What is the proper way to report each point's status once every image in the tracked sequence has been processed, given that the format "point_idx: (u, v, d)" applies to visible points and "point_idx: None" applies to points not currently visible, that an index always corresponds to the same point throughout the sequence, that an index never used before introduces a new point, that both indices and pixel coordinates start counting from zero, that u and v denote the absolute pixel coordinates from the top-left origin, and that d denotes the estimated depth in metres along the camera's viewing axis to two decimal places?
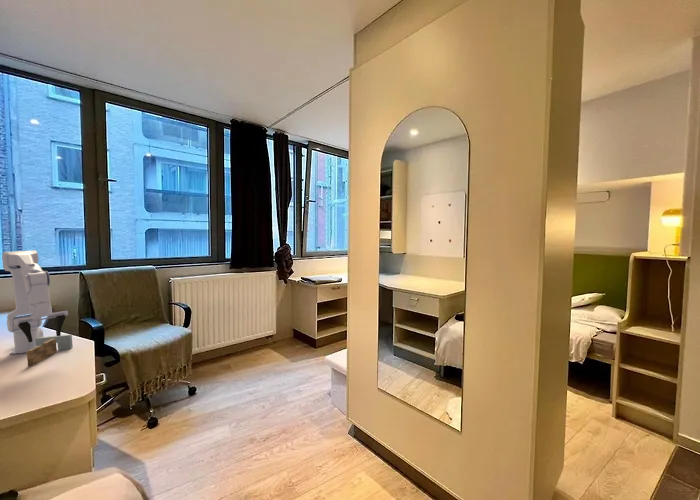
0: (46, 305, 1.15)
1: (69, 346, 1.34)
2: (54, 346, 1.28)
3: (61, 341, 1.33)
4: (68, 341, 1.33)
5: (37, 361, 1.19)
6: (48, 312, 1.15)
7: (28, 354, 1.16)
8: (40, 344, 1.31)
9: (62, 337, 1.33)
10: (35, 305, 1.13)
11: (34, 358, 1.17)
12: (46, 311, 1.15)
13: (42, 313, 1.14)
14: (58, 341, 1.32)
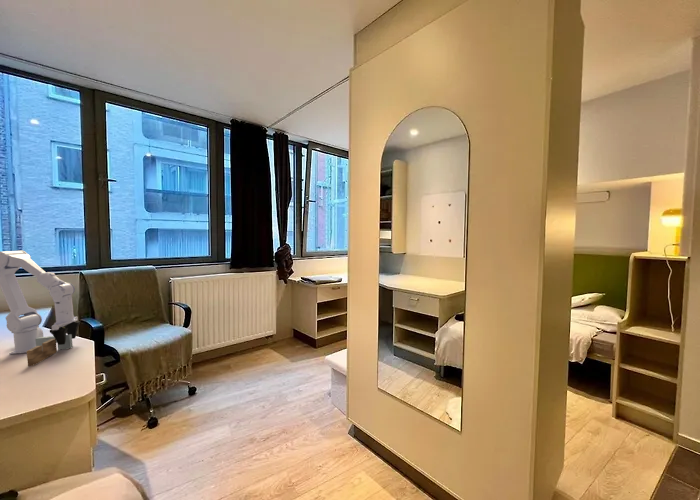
0: None
1: (69, 346, 1.34)
2: (54, 346, 1.28)
3: None
4: (68, 341, 1.33)
5: (37, 361, 1.19)
6: (73, 318, 1.35)
7: (28, 354, 1.16)
8: (40, 344, 1.31)
9: None
10: (68, 312, 1.32)
11: (34, 358, 1.17)
12: (73, 317, 1.35)
13: (72, 319, 1.34)
14: None
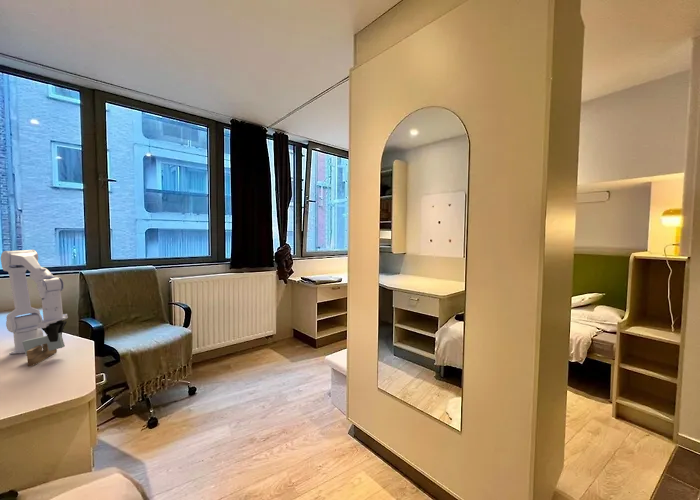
0: None
1: (60, 345, 1.24)
2: None
3: None
4: (58, 340, 1.23)
5: (37, 361, 1.19)
6: (62, 315, 1.25)
7: (28, 354, 1.16)
8: (28, 347, 1.21)
9: None
10: (56, 309, 1.22)
11: (34, 358, 1.17)
12: (62, 314, 1.25)
13: (61, 316, 1.24)
14: (48, 342, 1.22)
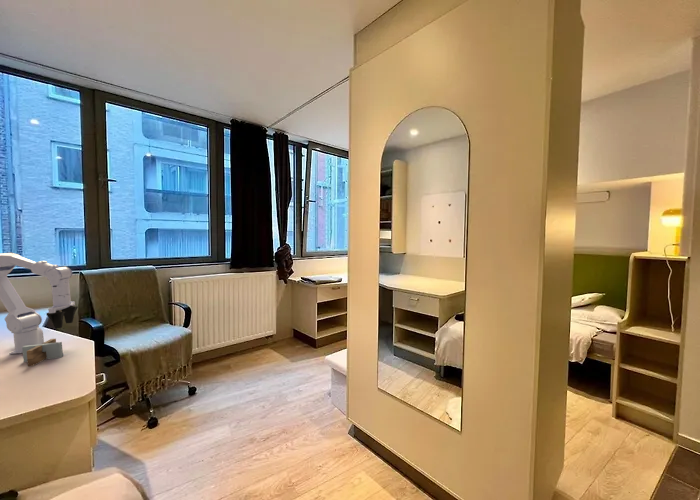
0: None
1: (59, 355, 1.24)
2: None
3: (50, 350, 1.23)
4: (58, 349, 1.23)
5: (37, 361, 1.19)
6: (70, 302, 1.35)
7: (28, 354, 1.16)
8: None
9: (51, 345, 1.23)
10: (65, 296, 1.32)
11: (34, 358, 1.17)
12: (70, 301, 1.34)
13: (69, 303, 1.33)
14: (47, 350, 1.22)
